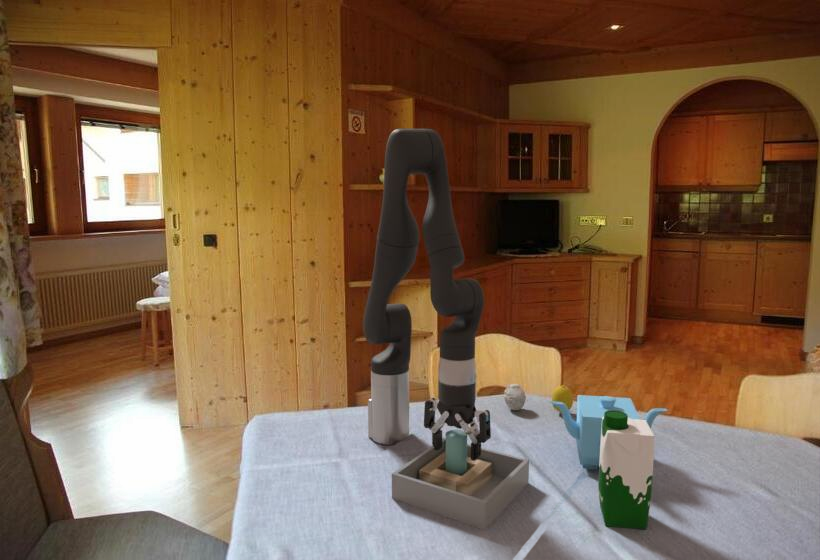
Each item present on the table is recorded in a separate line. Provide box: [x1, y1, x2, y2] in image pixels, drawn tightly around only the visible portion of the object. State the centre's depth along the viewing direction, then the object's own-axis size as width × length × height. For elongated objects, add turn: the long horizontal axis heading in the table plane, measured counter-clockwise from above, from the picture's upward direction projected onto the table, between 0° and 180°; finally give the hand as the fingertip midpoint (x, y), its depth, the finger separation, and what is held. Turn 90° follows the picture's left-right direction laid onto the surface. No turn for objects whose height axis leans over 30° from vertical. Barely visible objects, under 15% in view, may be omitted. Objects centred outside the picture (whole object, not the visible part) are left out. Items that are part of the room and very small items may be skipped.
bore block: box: [419, 451, 492, 496], centre depth 123 cm, size 11×11×3 cm
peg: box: [445, 429, 468, 476], centre depth 122 cm, size 4×4×10 cm
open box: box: [391, 437, 530, 531], centre depth 119 cm, size 20×20×6 cm
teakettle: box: [549, 394, 669, 470], centre depth 132 cm, size 19×19×15 cm
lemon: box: [551, 384, 574, 415], centre depth 161 cm, size 6×6×8 cm
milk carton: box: [597, 410, 655, 530], centre depth 109 cm, size 9×9×20 cm
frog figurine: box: [503, 383, 527, 411], centre depth 164 cm, size 6×7×7 cm
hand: (456, 453), depth 122 cm, fingers open, 8 cm apart
